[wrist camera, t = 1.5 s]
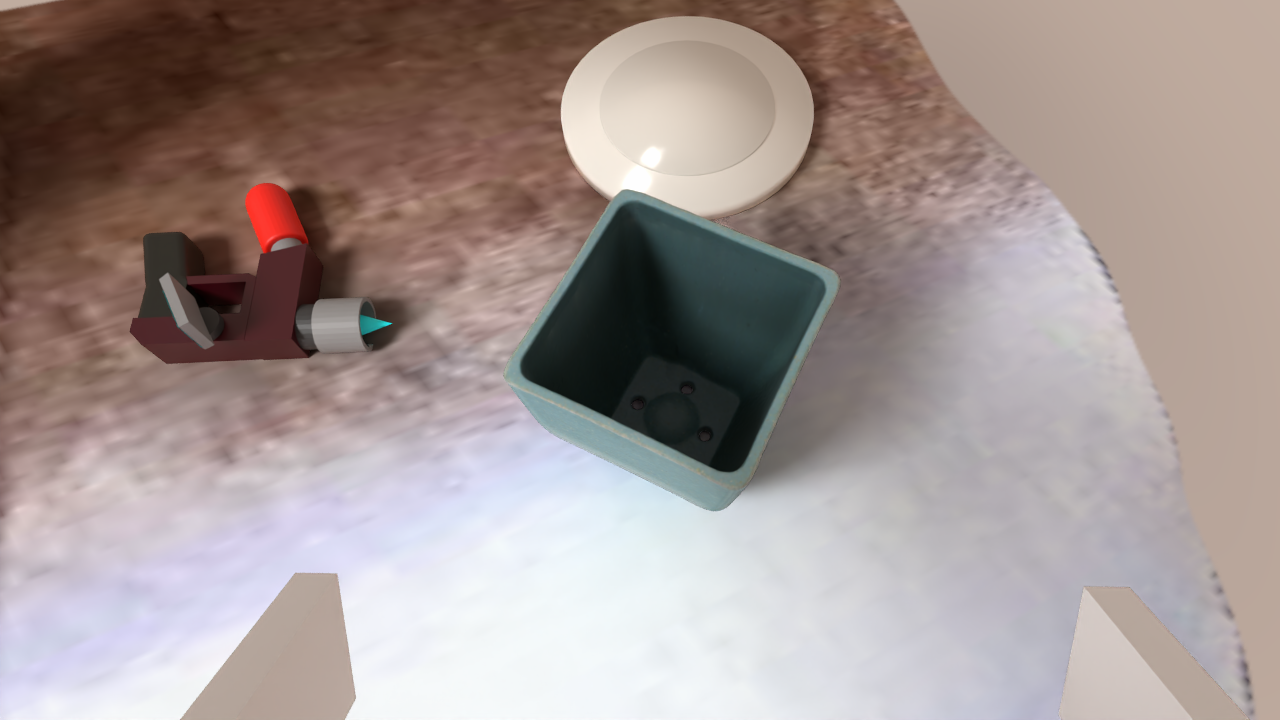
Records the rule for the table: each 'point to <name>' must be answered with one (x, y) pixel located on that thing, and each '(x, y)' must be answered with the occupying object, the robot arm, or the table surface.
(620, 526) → the table surface
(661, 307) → the flower pot
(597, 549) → the table surface
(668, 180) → the saucer
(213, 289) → the toy gun
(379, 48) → the table surface
